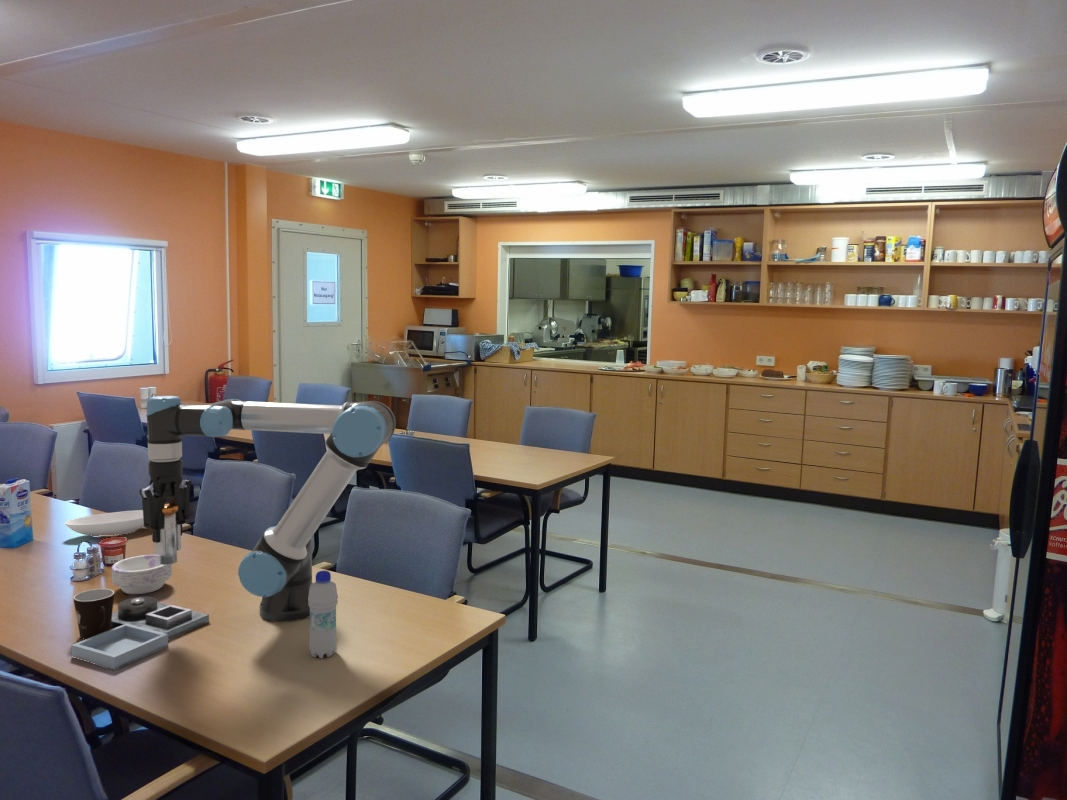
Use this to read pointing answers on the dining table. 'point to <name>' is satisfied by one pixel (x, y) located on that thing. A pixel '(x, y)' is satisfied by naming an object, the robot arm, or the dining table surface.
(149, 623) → the plate
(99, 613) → the coffee mug
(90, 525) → the bowl
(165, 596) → the dining table surface
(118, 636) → the tray
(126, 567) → the paper bowls
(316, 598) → the bottle
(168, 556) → the pin
